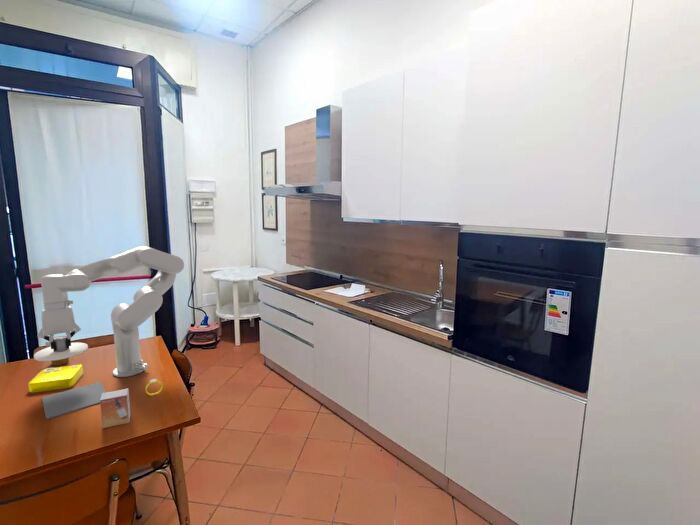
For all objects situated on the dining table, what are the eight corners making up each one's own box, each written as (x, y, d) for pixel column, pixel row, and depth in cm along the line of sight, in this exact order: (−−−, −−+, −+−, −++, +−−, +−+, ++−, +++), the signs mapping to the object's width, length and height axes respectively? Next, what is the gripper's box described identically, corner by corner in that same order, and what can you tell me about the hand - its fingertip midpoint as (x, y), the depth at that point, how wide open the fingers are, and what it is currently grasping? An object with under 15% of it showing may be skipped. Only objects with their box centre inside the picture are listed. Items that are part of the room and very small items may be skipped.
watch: (147, 398, 140) (144, 384, 138) (146, 395, 142) (143, 381, 141) (163, 392, 143) (161, 379, 142) (162, 390, 145) (160, 376, 144)
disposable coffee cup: (69, 356, 176) (66, 333, 174) (75, 361, 171) (73, 338, 169) (44, 363, 168) (41, 339, 167) (51, 368, 163) (48, 344, 161)
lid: (92, 352, 144) (91, 338, 143) (37, 365, 131) (35, 350, 130) (82, 341, 155) (81, 328, 154) (31, 352, 143) (29, 338, 142)
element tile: (27, 394, 141) (25, 383, 141) (43, 377, 155) (42, 367, 155) (72, 388, 147) (71, 377, 146) (84, 372, 161) (83, 362, 160)
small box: (101, 429, 119) (98, 400, 118) (104, 420, 124) (101, 392, 123) (129, 423, 123) (127, 394, 121) (130, 414, 128) (128, 387, 126)
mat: (110, 400, 137) (109, 398, 137) (46, 419, 124) (45, 418, 124) (100, 382, 151) (100, 381, 151) (42, 398, 138) (41, 397, 138)
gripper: (82, 300, 148) (86, 341, 151) (29, 306, 138) (34, 351, 141) (83, 304, 143) (87, 347, 145) (27, 311, 132) (33, 357, 135)
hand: (61, 348), depth 143 cm, fingers closed on lid, 3 cm apart
